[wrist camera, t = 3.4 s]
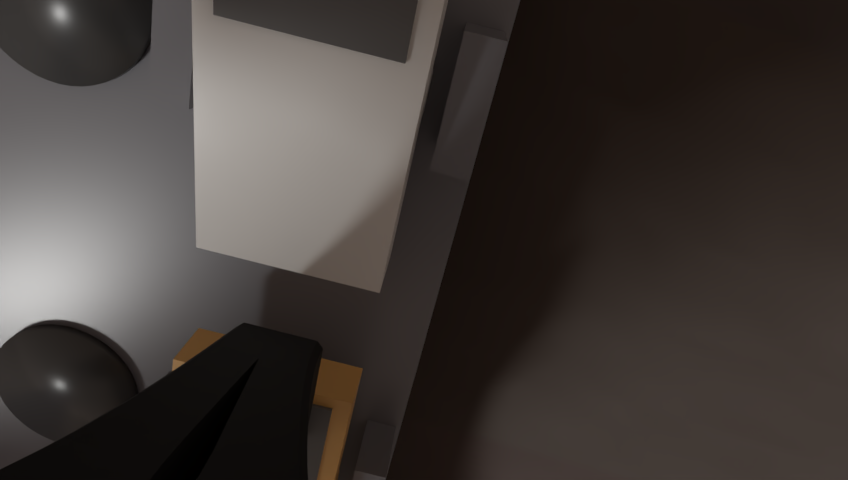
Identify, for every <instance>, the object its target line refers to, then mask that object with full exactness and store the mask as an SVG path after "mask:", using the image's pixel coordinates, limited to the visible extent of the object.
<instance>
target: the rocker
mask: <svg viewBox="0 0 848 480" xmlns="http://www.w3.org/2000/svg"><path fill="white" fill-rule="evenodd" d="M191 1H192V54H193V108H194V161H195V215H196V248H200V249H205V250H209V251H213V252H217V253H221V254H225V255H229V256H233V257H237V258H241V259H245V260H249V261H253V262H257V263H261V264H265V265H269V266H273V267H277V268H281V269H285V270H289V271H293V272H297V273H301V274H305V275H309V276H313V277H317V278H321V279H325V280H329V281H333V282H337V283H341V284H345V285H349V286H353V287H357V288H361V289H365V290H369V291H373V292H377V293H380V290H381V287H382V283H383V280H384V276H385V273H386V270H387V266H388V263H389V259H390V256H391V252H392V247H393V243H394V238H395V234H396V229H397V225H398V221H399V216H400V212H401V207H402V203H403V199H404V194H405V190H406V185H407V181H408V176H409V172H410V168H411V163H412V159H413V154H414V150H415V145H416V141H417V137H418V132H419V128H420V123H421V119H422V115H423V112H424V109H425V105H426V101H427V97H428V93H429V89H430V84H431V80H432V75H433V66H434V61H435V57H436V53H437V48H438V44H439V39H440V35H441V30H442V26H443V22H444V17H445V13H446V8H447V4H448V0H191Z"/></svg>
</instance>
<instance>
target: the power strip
mask: <svg viewBox="0 0 848 480" xmlns="http://www.w3.org/2000/svg"><path fill="white" fill-rule="evenodd" d="M519 3H520V0H448V4H447V8H446V13H445V17H444V22H443V26H442V30H441V35H440V39H439V44H438V48H437V53H436V57H435V61H434V66H433V75H432V80H431V84H430V89H429V93H428V97H427V101H426V105H425V109H424V112H423V115H422V119H421V123H420V128H419V132H418V137H417V141H416V145H415V150H414V154H413V159H412V163H411V168H410V172H409V176H408V181H407V185H406V190H405V194H404V199H403V203H402V207H401V212H400V216H399V221H398V225H397V229H396V234H395V238H394V243H393V247H392V252H391V256H390V259H389V263H388V266H387V270H386V273H385V276H384V280H383V283H382V287H381V290H380V293H377V292H373V291H369V290H365V289H361V288H357V287H353V286H349V285H345V284H341V283H337V282H333V281H329V280H325V279H321V278H317V277H313V276H309V275H305V274H301V273H297V272H293V271H289V270H285V269H281V268H277V267H273V266H269V265H265V264H261V263H257V262H253V261H249V260H245V259H241V258H237V257H233V256H229V255H225V254H221V253H217V252H213V251H209V250H205V249H200V248H196V215H195V161H194V108H193V54H192V1H191V0H0V469H2V468H4V467H6V466H8V465H10V464H12V463H14V462H16V461H18V460H20V459H22V458H24V457H26V456H28V455H30V454H32V453H34V452H36V451H38V450H40V449H42V448H44V447H46V446H48V445H50V444H51V443H53V442H55V441H57V440H59V439H61V438H63V437H64V436H66V435H68V434H70V433H72V432H74V431H75V430H77V429H79V428H81V427H82V426H84V425H86V424H88V423H89V422H91V421H93V420H94V419H96V418H98V417H99V416H101V415H103V414H105V413H106V412H108V411H110V410H111V409H113V408H115V407H117V406H118V405H120V404H122V403H123V402H125V401H127V400H128V399H130V398H132V397H133V396H135V395H136V394H138V393H140V392H141V391H143V390H144V389H146V388H147V387H149V386H150V385H152V384H154V383H155V382H157V381H158V380H160V379H161V378H163V377H164V376H166V375H167V374H169V373H170V372H172V366H173V359H174V358H175V356H176V355H177V354H178V353H179V351H180V350H181V349H182V348H183V347H184V345H185V344H186V343H187V342H188V340H189V339H190V338H191V337H192V336H193V334H194V333H195V332H196V331H197V330H198V328H201V329H205V330H209V331H213V332H217V333H221V334H227V333H228V332H230V331H231V330H232V329H234V328H235V327H237V326H239V325H240V324H242V323H248V324H252V325H256V326H260V327H264V328H268V329H272V330H276V331H280V332H284V333H288V334H292V335H296V336H300V337H304V338H308V339H311V340H315V341H318V342H319V344H320V345H321V346H322V348H323V353H322V358H323V359H327V360H331V361H335V362H339V363H343V364H347V365H351V366H355V367H359V368H363V370H362V375H361V379H360V383H359V387H358V392H357V396H356V400H355V404H354V409H353V413H352V417H351V421H350V425H349V430H348V434H347V438H346V442H345V447H344V451H343V455H342V459H341V464H340V468H339V470H340V471H339V475H338V480H386V478H387V474H388V471H389V467H390V463H391V460H392V456H393V453H394V449H395V446H396V442H397V439H398V435H399V431H400V428H401V424H402V421H403V417H404V414H405V410H406V406H407V403H408V399H409V396H410V392H411V389H412V385H413V381H414V378H415V374H416V371H417V367H418V364H419V360H420V356H421V353H422V349H423V346H424V342H425V339H426V335H427V331H428V328H429V324H430V321H431V317H432V314H433V310H434V306H435V303H436V299H437V296H438V292H439V289H440V285H441V281H442V278H443V274H444V271H445V267H446V264H447V260H448V256H449V253H450V249H451V246H452V242H453V239H454V235H455V232H456V228H457V224H458V221H459V217H460V214H461V210H462V207H463V203H464V199H465V196H466V192H467V189H468V185H469V182H470V178H471V174H472V171H473V167H474V164H475V160H476V157H477V153H478V149H479V146H480V142H481V139H482V135H483V132H484V128H485V124H486V121H487V117H488V114H489V110H490V107H491V103H492V99H493V96H494V92H495V89H496V85H497V82H498V78H499V74H500V71H501V67H502V64H503V60H504V57H505V53H506V49H507V46H508V42H509V39H510V35H511V32H512V28H513V24H514V21H515V17H516V14H517V10H518V7H519Z"/></svg>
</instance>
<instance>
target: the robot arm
mask: <svg viewBox="0 0 848 480" xmlns="http://www.w3.org/2000/svg"><path fill="white" fill-rule="evenodd" d="M322 353H323V348H322V346H321V345H320V344H319V342H318V341H315V340H311V339H308V338H304V337H300V336H296V335H292V334H288V333H284V332H280V331H276V330H272V329H268V328H264V327H260V326H256V325H252V324H248V323H242V324H240V325H239V326H237V327H235V328H234V329H232V330H231V331H230V332H228V333H227V334H225V335H224V336H222V337H221V338H220V339H218V340H217V341H215V342H214V343H213V344H211V345H210V346H208V347H207V348H206V349H204V350H203V351H201V352H200V353H198V354H197V355H196V356H194V357H193V358H191V359H190V360H188V361H187V362H185V363H184V364H182V365H181V366H180V367H178V368H177V369H175V370H173V371H172V372H170V373H169V374H167V375H166V376H164V377H163V378H161V379H160V380H158V381H157V382H155V383H154V384H152V385H150V386H149V387H147V388H146V389H144V390H143V391H141V392H140V393H138V394H136V395H135V396H133V397H132V398H130V399H128V400H127V401H125V402H123V403H122V404H120V405H118V406H117V407H115V408H113V409H111V410H110V411H108V412H106V413H105V414H103V415H101V416H99V417H98V418H96V419H94V420H93V421H91V422H89V423H88V424H86V425H84V426H82V427H81V428H79V429H77V430H75V431H74V432H72V433H70V434H68V435H66V436H64V437H63V438H61V439H59V440H57V441H55V442H53V443H51V444H50V445H48V446H46V447H44V448H42V449H40V450H38V451H36V452H34V453H32V454H30V455H28V456H26V457H24V458H22V459H20V460H18V461H16V462H14V463H12V464H10V465H8V466H6V467H4V468H2V469H0V480H308V467H307V439H308V425H309V420H310V415H311V410H312V405H313V400H314V394H315V389H316V384H317V379H318V373H319V368H320V363H321V358H322Z"/></svg>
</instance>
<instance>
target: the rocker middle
mask: <svg viewBox="0 0 848 480" xmlns="http://www.w3.org/2000/svg"><path fill="white" fill-rule="evenodd" d="M224 335H225V334H221V333H217V332H213V331H209V330H205V329H201V328H198V330H197V331H196V332H195V333H194V334H193V336H192V337H191V338H190V339H189V340H188V342H187V343H186V344H185V345H184V347H183V348H182V349H181V350H180V351H179V353H178V354H177V355H176V356H175V358H174V359H173V366H172V371H173V370H175V369H177V368H178V367H180V366H181V365H182V364H184V363H185V362H187V361H188V360H190V359H191V358H193V357H194V356H196V355H197V354H198V353H200V352H201V351H203V350H204V349H206V348H207V347H208V346H210V345H211V344H213V343H214V342H215V341H217V340H218V339H220V338H221V337H222V336H224ZM362 370H363V368H359V367H355V366H351V365H347V364H343V363H339V362H335V361H331V360H327V359H323V358H321V363H320V368H319V373H318V379H317V384H316V389H315V394H314V400H313V405H312V410H311V415H310V420H309V425H308V439H307V467H308V480H338V475H339V471H340V470H339V468H340V464H341V459H342V455H343V451H344V447H345V442H346V438H347V434H348V430H349V425H350V421H351V417H352V413H353V409H354V404H355V400H356V396H357V392H358V387H359V383H360V379H361V375H362Z"/></svg>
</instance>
